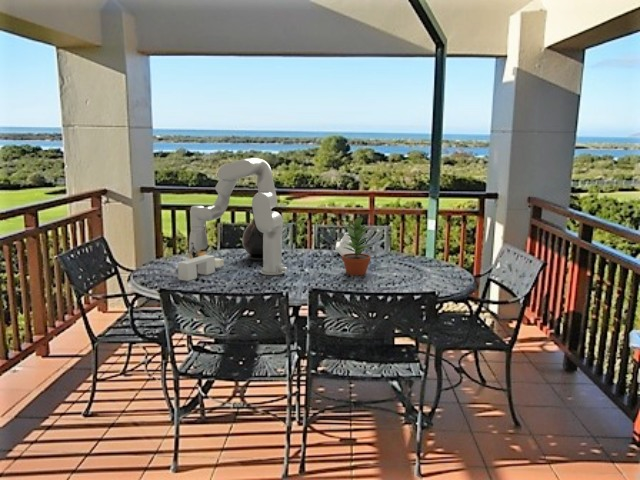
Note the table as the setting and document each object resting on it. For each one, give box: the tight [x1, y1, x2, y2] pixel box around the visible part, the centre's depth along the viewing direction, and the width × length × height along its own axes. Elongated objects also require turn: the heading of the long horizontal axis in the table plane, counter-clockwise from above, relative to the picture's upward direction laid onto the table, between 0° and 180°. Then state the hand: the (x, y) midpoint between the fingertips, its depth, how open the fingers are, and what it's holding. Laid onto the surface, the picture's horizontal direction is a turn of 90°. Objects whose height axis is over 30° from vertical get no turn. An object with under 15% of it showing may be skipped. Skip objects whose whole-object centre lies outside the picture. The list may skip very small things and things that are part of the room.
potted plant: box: [342, 217, 371, 276], centre depth 277 cm, size 15×15×30 cm
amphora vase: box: [241, 209, 273, 262], centre depth 306 cm, size 22×22×28 cm
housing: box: [177, 254, 216, 282], centre depth 269 cm, size 6×20×8 cm, turn 151°
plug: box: [189, 250, 225, 268], centre depth 288 cm, size 20×6×6 cm, turn 61°
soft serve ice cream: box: [334, 231, 355, 257], centre depth 323 cm, size 12×15×14 cm
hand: (199, 261), depth 291 cm, fingers closed on plug, 5 cm apart
